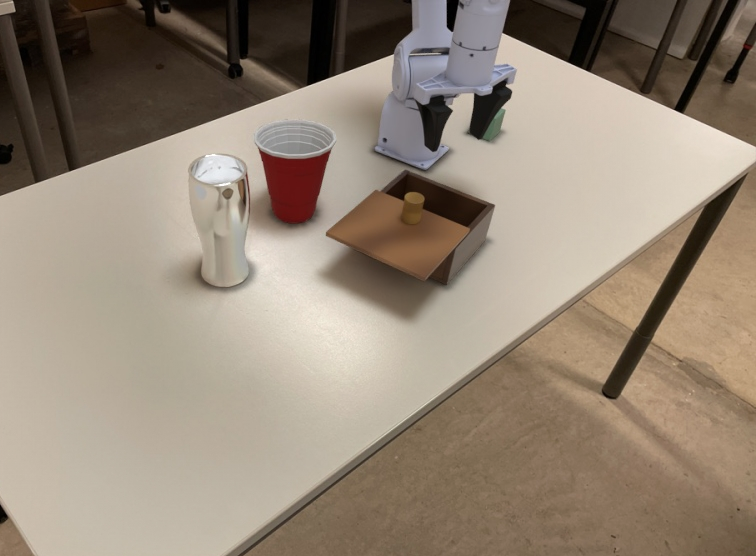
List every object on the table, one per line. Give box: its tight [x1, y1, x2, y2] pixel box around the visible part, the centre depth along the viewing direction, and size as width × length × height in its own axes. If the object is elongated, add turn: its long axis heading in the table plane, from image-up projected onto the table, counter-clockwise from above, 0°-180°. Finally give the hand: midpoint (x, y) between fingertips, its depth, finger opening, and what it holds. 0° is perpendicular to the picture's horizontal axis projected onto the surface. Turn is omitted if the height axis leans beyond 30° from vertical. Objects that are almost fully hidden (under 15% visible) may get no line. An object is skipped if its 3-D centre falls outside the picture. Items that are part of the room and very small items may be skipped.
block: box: [468, 107, 506, 142], centre depth 110 cm, size 4×4×4 cm
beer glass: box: [187, 152, 251, 288], centre depth 79 cm, size 7×7×15 cm
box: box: [379, 169, 496, 286], centre depth 88 cm, size 14×12×6 cm
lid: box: [325, 189, 470, 282], centre depth 79 cm, size 14×12×4 cm
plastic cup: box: [253, 119, 337, 224], centre depth 89 cm, size 11×11×12 cm
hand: (453, 142), depth 90 cm, fingers open, 7 cm apart
